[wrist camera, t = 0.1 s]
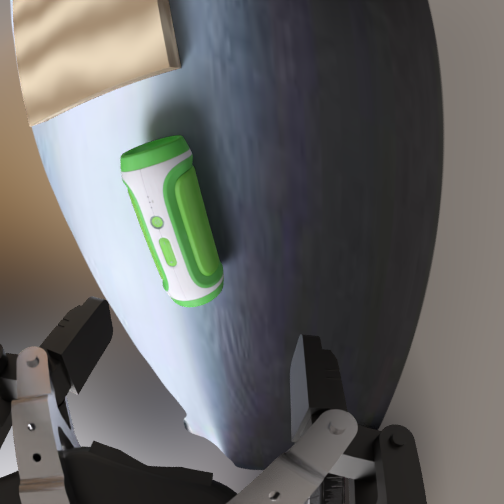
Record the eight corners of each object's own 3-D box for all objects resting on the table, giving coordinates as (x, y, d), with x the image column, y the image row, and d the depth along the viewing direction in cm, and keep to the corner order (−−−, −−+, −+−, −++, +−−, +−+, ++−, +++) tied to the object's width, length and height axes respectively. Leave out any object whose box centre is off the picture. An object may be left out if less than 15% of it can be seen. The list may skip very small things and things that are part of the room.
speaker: (135, 144, 30) (101, 164, 23) (196, 128, 28) (172, 144, 22) (178, 273, 39) (161, 312, 32) (231, 268, 38) (221, 309, 31)
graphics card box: (321, 454, 73) (321, 531, 50) (300, 453, 73) (297, 533, 50) (343, 434, 64) (347, 527, 41) (319, 434, 64) (319, 530, 41)
